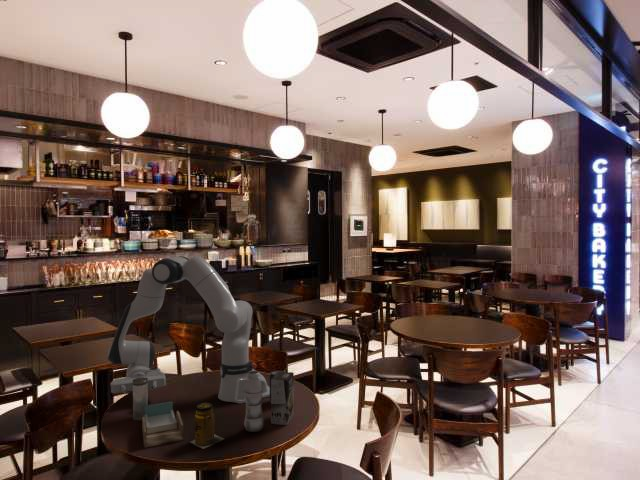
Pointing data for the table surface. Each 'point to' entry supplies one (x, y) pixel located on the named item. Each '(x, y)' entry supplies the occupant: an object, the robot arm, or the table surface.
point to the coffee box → (282, 398)
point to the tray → (160, 417)
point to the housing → (163, 434)
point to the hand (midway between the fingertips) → (139, 389)
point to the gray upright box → (272, 377)
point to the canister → (140, 397)
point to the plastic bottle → (253, 402)
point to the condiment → (205, 426)
